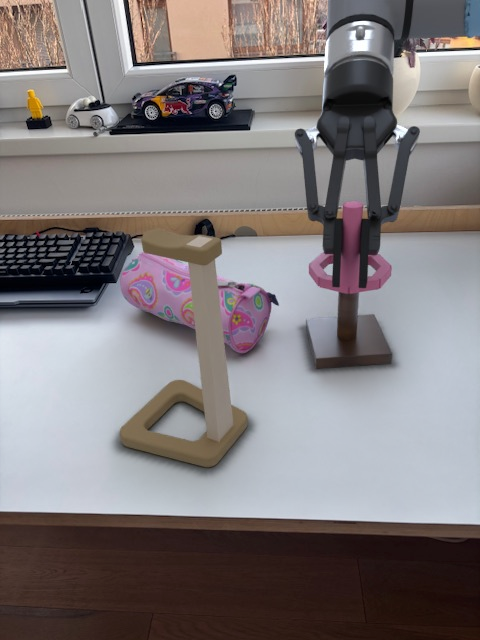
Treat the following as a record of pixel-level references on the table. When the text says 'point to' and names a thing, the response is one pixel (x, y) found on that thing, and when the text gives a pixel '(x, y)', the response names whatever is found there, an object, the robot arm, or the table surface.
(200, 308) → the headphone stand
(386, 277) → the pink ring with handle
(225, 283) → the pencil case
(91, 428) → the table surface
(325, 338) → the stand
